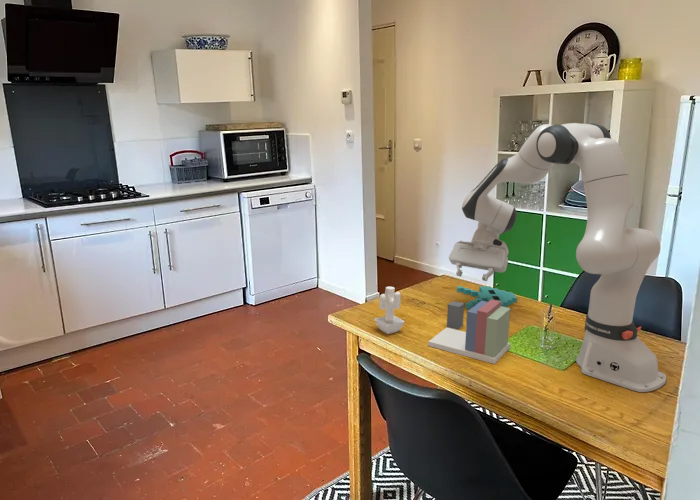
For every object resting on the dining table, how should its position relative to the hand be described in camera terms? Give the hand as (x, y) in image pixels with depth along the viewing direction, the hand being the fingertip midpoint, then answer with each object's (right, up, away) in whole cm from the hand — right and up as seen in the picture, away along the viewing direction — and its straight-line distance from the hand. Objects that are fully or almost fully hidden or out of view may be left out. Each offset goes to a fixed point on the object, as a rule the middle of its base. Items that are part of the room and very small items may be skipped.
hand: (471, 277), depth 183 cm
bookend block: (-7, -16, -6) cm, 18 cm away
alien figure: (+11, -10, +19) cm, 24 cm away
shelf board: (-5, -20, -21) cm, 29 cm away
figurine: (-29, -17, -9) cm, 35 cm away
